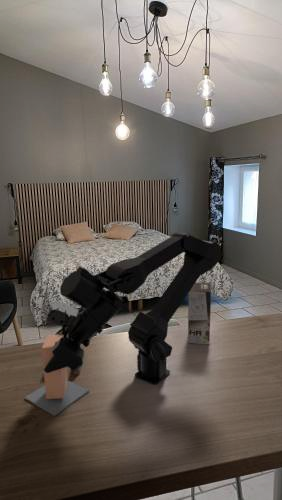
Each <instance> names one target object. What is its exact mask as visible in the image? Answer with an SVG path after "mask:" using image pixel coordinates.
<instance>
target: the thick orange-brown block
mask: <svg viewBox="0 0 282 500" xmlns="http://www.w3.org/2000/svg"><path fill="white" fill-rule="evenodd" d="M61 337H64V335H62V334H48V335H47V336H46V338H45V340H44V342H43V344H42V346H41V355H42V356H41V357H42V369H43V378H44V380H43V381H44V385H45V391H46V399H56V398H63V396H64V393H65V389H66V386H67V380H68V370H67V367H65V368H62V369H59V370H56V371H53V372H50V373H46V372H45V371H44V368H45V367H46V365H47V364H48V362H49V361H50V359H51V358H52V357H53V353H52V351H53V347H54V345H55V342H58V340H59V339H60V338H61Z"/></svg>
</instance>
